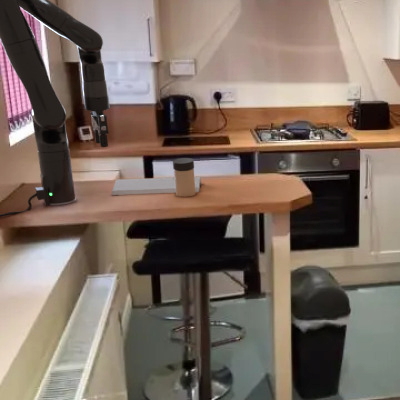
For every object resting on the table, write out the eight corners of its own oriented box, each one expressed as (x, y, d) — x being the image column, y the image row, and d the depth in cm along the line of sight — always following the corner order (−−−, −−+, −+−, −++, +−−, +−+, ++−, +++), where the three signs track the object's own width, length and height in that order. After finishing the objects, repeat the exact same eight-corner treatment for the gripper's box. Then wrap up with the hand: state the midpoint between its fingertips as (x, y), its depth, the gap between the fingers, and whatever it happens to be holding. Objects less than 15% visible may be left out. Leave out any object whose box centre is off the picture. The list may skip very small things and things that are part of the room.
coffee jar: (179, 198, 197) (176, 165, 194) (173, 192, 203) (171, 161, 199) (198, 195, 200) (195, 163, 197) (192, 189, 206) (189, 158, 202)
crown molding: (112, 195, 201) (111, 185, 200) (119, 186, 213) (118, 177, 212) (199, 192, 205) (198, 182, 204) (201, 184, 216) (201, 174, 216)
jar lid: (176, 172, 194) (176, 164, 193) (170, 166, 199) (169, 159, 199) (196, 169, 197) (196, 161, 196) (190, 164, 203) (189, 156, 202)
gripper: (80, 94, 195) (86, 143, 199) (87, 97, 183) (93, 149, 188) (103, 92, 199) (109, 140, 203) (112, 95, 187) (118, 147, 191)
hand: (101, 144), depth 195 cm, fingers open, 8 cm apart
